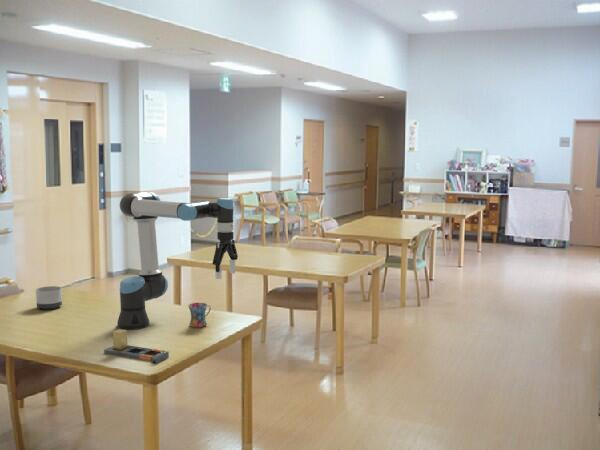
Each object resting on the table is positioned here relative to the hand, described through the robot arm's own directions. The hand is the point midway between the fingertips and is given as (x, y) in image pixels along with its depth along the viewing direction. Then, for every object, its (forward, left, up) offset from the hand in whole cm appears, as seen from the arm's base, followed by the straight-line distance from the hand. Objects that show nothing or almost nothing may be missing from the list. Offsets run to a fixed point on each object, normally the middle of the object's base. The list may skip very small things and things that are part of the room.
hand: (225, 276), depth 295 cm
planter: (-110, +1, -27) cm, 114 cm away
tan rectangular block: (-25, -46, -26) cm, 58 cm away
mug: (-17, +4, -27) cm, 32 cm away
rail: (-17, -46, -27) cm, 56 cm away
